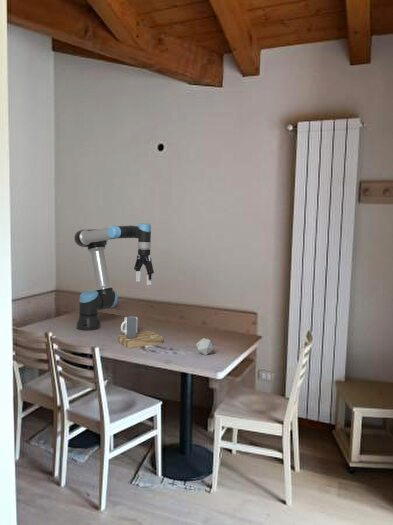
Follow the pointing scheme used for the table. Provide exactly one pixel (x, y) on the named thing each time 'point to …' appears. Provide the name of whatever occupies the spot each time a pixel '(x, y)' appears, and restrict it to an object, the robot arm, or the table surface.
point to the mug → (126, 325)
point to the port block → (141, 339)
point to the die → (204, 346)
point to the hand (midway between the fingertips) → (143, 283)
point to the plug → (131, 327)
